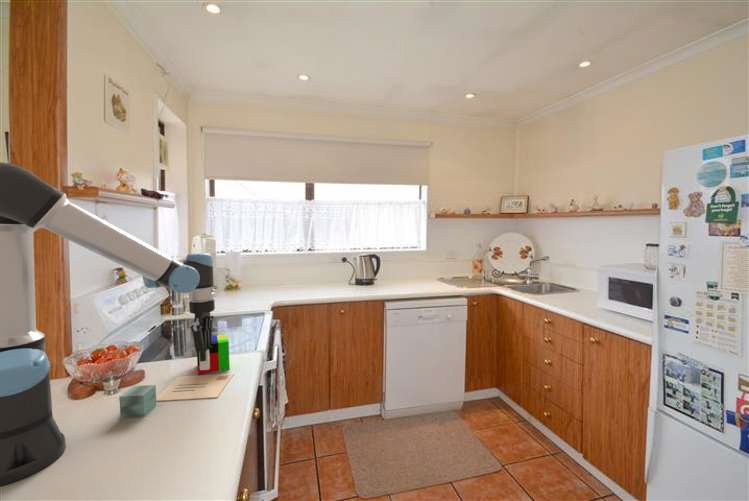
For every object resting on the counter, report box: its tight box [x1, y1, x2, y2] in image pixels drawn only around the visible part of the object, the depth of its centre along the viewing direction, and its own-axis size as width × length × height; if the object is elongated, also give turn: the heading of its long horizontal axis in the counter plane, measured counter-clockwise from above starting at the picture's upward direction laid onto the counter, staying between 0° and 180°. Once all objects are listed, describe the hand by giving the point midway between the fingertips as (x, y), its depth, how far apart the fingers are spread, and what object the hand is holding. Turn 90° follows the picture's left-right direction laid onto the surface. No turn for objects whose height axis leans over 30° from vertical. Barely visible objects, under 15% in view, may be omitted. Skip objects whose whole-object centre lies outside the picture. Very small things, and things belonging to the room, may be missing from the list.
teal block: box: [119, 384, 157, 419], centre depth 93 cm, size 6×6×6 cm
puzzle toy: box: [196, 333, 231, 376], centre depth 122 cm, size 10×10×10 cm
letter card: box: [156, 373, 235, 402], centre depth 107 cm, size 18×16×1 cm
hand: (205, 369), depth 113 cm, fingers closed
